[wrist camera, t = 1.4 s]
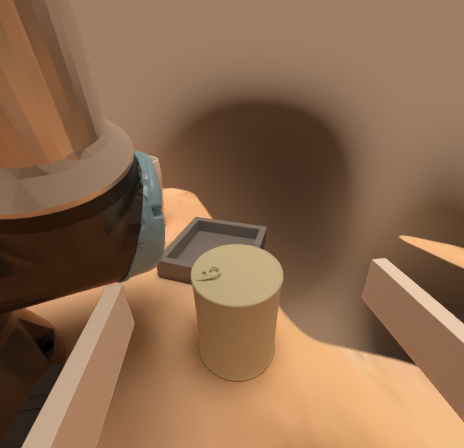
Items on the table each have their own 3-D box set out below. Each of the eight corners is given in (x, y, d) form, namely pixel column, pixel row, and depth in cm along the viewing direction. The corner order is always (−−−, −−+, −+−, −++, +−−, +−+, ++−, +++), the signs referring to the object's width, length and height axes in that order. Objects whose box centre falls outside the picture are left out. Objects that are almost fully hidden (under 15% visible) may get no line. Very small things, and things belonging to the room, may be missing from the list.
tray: (158, 277, 40) (155, 260, 38) (197, 230, 52) (195, 216, 50) (248, 296, 36) (248, 279, 34) (265, 241, 48) (267, 226, 46)
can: (193, 320, 32) (183, 247, 26) (257, 304, 34) (261, 234, 28) (207, 393, 24) (197, 314, 18) (288, 367, 27) (303, 288, 21)
